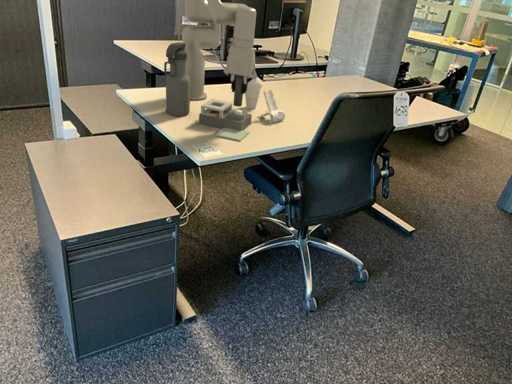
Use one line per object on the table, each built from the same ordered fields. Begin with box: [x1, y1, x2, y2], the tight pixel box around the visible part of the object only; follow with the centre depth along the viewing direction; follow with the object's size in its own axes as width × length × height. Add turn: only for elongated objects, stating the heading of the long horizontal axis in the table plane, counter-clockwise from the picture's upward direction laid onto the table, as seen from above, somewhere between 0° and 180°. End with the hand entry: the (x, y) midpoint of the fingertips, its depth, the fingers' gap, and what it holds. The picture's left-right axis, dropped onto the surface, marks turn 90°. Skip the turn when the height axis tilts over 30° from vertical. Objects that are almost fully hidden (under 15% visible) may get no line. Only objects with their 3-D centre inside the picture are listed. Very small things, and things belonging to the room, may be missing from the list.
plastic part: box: [256, 89, 286, 124], centre depth 180 cm, size 8×10×12 cm
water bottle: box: [163, 41, 191, 117], centre depth 171 cm, size 10×10×28 cm
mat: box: [215, 128, 250, 142], centre depth 161 cm, size 10×10×1 cm
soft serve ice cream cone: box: [244, 75, 263, 110], centre depth 190 cm, size 8×8×16 cm
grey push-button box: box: [198, 98, 253, 131], centre depth 170 cm, size 18×12×7 cm, turn 72°
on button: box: [233, 109, 242, 115], centre depth 168 cm, size 4×4×2 cm
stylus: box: [232, 75, 244, 107], centre depth 164 cm, size 3×3×12 cm
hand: (238, 91), depth 164 cm, fingers closed on stylus, 3 cm apart
